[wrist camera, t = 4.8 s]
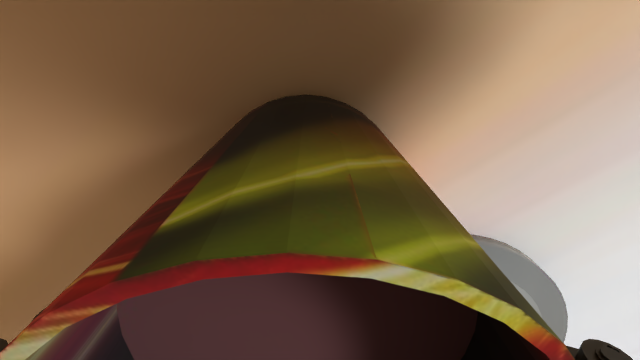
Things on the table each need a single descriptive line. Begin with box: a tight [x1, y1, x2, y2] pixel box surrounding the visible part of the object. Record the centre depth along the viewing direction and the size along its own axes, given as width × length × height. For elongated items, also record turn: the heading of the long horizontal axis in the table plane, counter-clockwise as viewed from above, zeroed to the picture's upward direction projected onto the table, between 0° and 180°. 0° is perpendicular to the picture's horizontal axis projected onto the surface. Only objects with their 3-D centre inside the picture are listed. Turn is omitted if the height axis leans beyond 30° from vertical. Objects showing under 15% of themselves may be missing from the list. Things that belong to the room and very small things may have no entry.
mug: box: [0, 95, 575, 360], centre depth 11 cm, size 10×14×12 cm
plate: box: [471, 235, 568, 343], centre depth 20 cm, size 16×16×1 cm
